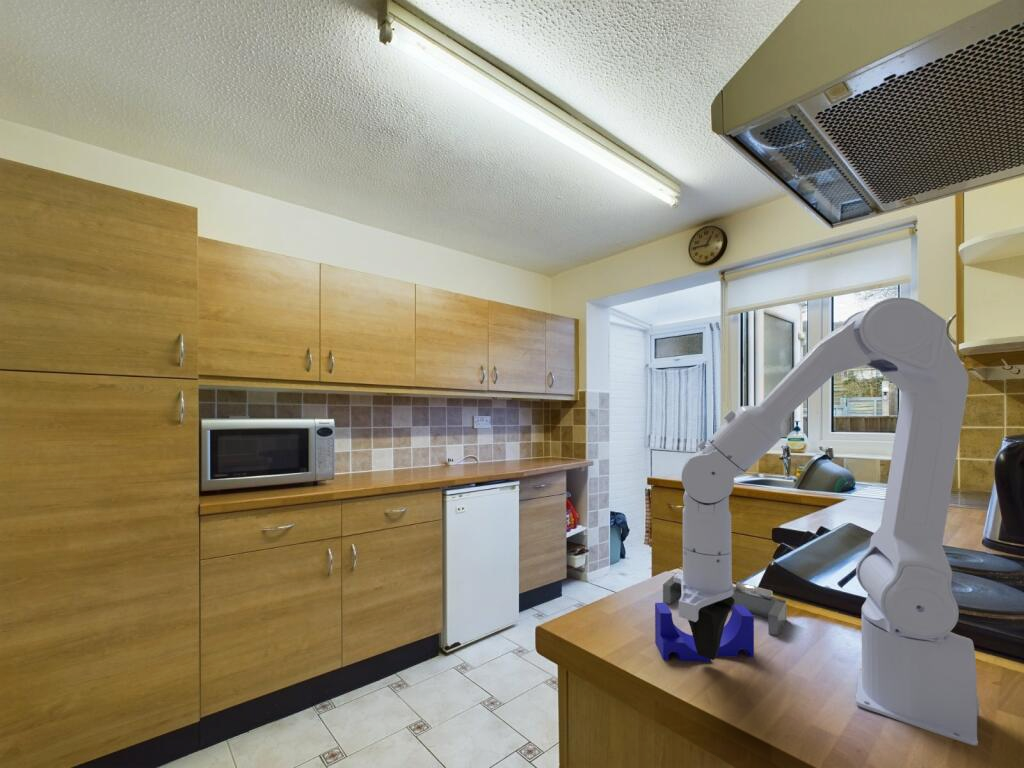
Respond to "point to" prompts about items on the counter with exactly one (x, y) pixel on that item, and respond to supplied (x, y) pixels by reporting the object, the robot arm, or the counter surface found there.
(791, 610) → the counter surface
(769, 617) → the hinge bracket
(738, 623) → the blue pipe saddle
